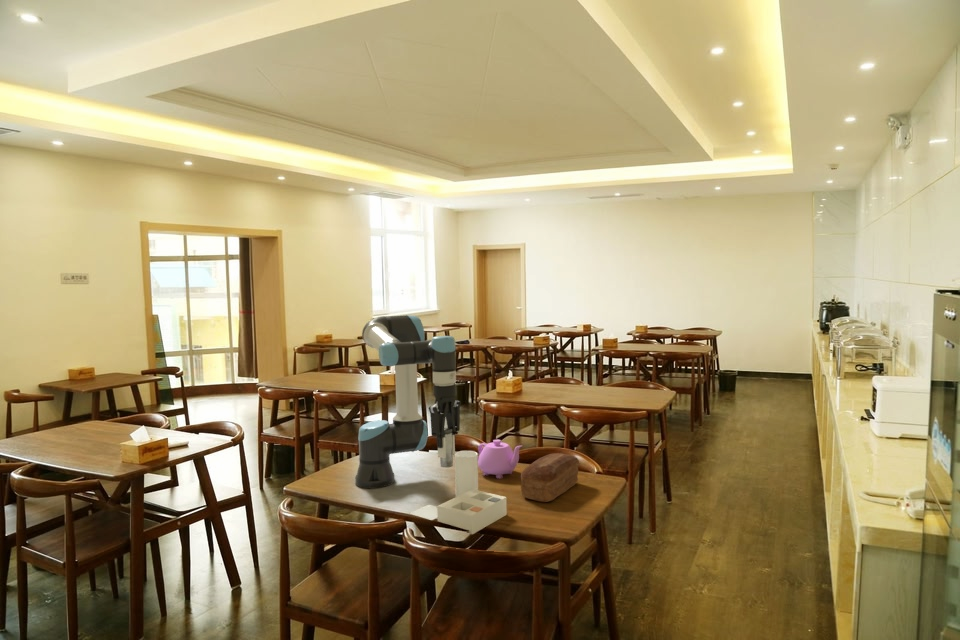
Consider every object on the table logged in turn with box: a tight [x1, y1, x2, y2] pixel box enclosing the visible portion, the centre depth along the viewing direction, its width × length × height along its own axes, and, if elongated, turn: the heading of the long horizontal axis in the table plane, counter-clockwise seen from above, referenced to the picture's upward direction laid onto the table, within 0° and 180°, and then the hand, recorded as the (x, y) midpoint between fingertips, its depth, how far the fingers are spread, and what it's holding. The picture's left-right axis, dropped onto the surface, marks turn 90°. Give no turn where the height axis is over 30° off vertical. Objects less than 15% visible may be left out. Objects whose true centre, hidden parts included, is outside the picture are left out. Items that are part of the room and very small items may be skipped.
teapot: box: [477, 439, 523, 480], centre depth 245 cm, size 22×16×14 cm
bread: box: [520, 452, 580, 503], centre depth 225 cm, size 14×28×12 cm, turn 147°
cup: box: [454, 450, 479, 497], centre depth 220 cm, size 8×8×16 cm
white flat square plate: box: [409, 504, 438, 521], centre depth 204 cm, size 10×10×1 cm
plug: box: [439, 427, 454, 468], centre depth 198 cm, size 4×4×12 cm
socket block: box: [437, 489, 508, 535], centre depth 200 cm, size 14×19×6 cm
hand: (446, 455), depth 198 cm, fingers closed on plug, 4 cm apart
